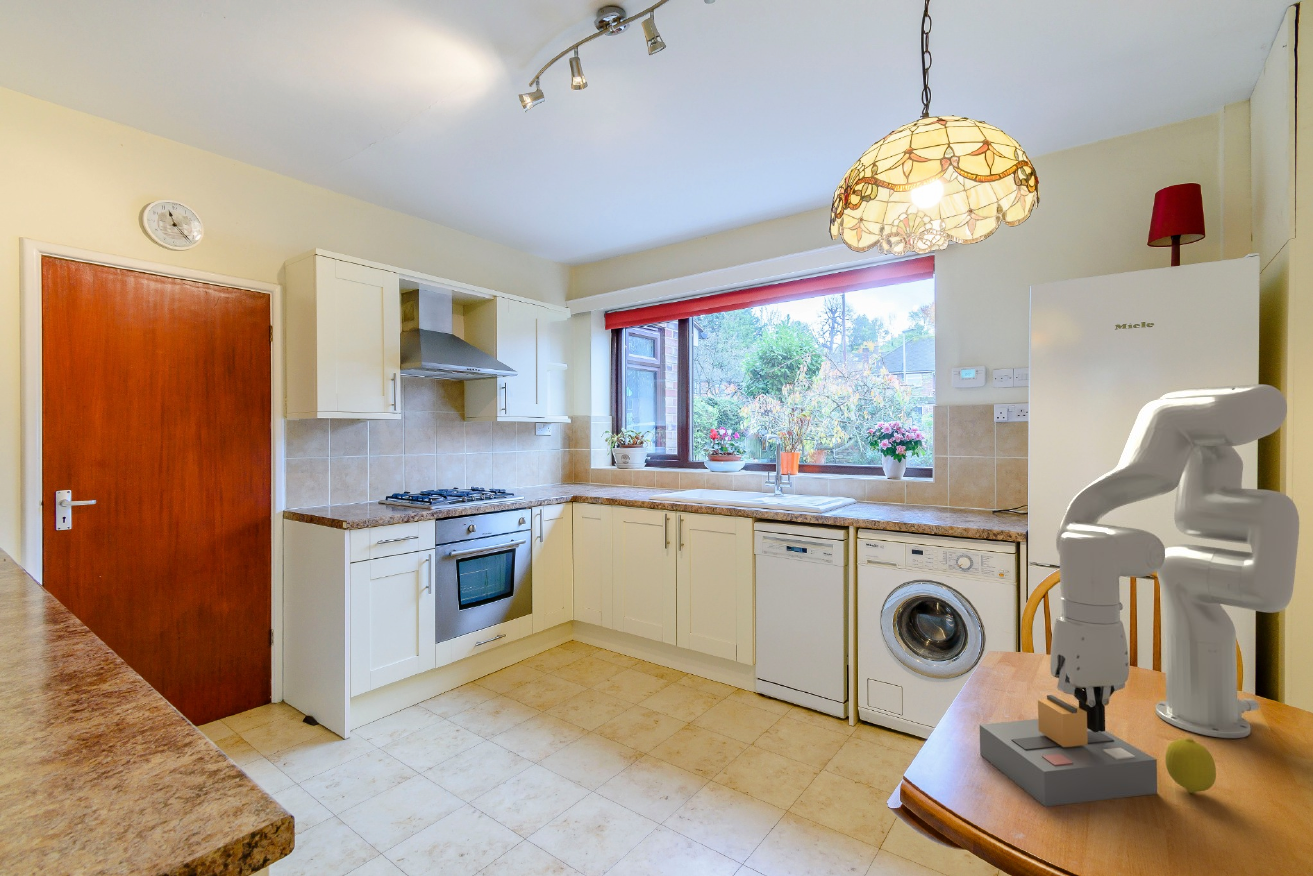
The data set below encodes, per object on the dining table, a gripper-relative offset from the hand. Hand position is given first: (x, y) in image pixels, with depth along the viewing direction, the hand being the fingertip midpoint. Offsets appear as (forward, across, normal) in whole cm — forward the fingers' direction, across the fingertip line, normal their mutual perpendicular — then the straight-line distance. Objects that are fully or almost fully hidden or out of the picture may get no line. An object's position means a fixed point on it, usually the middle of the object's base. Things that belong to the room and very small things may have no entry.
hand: (1092, 727), depth 94 cm
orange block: (+1, +5, 0) cm, 5 cm away
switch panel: (+7, +5, 0) cm, 8 cm away
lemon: (+7, -9, +8) cm, 13 cm away
